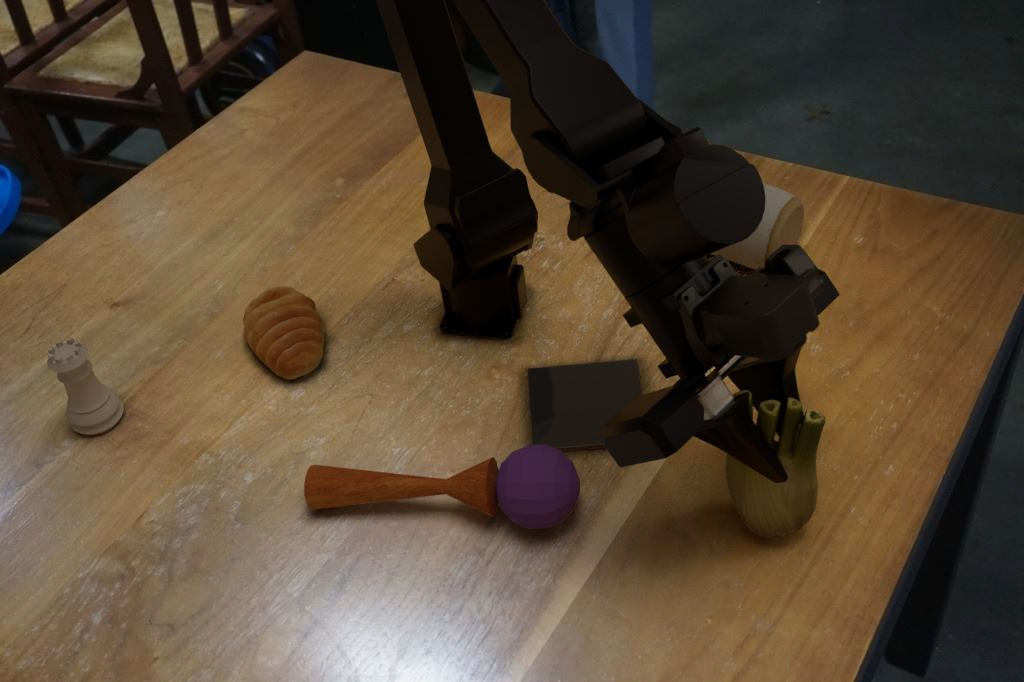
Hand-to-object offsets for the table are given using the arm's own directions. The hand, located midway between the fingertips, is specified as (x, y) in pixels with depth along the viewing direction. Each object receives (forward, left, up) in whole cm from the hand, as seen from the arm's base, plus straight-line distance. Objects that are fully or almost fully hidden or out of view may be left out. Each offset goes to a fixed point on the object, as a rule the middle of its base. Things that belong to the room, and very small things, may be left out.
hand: (794, 468), depth 72 cm
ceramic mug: (-5, +32, -7) cm, 33 cm away
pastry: (-43, +14, -7) cm, 46 cm away
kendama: (-24, -1, -7) cm, 26 cm away
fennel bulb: (-1, +1, -7) cm, 7 cm away
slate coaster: (-16, +10, -7) cm, 20 cm away
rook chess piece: (-56, +3, -7) cm, 57 cm away
